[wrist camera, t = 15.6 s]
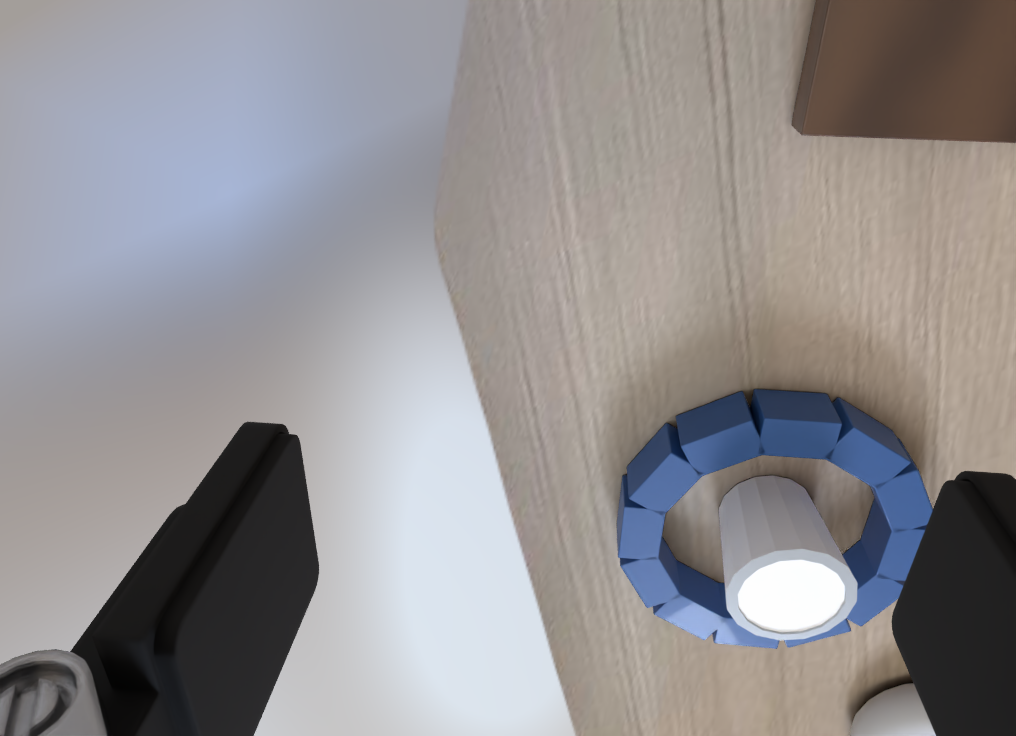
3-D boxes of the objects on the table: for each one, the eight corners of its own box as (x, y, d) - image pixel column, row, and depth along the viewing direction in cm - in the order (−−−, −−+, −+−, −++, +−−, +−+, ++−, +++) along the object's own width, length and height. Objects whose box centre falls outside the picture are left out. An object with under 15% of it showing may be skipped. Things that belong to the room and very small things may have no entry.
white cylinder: (846, 516, 46) (885, 605, 40) (752, 569, 49) (775, 659, 43) (779, 447, 44) (809, 529, 38) (685, 506, 47) (698, 591, 41)
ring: (607, 598, 51) (608, 634, 49) (633, 380, 42) (635, 409, 40) (870, 621, 50) (886, 658, 47) (952, 400, 41) (977, 432, 39)
